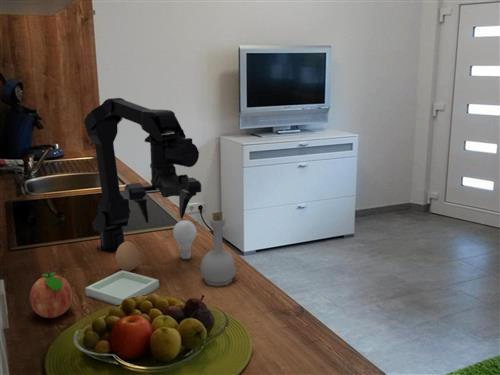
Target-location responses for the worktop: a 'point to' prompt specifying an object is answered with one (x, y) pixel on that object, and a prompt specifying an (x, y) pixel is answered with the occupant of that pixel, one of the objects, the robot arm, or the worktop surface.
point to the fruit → (51, 295)
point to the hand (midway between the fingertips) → (164, 220)
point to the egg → (127, 256)
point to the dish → (121, 287)
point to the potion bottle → (218, 257)
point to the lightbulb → (184, 237)
